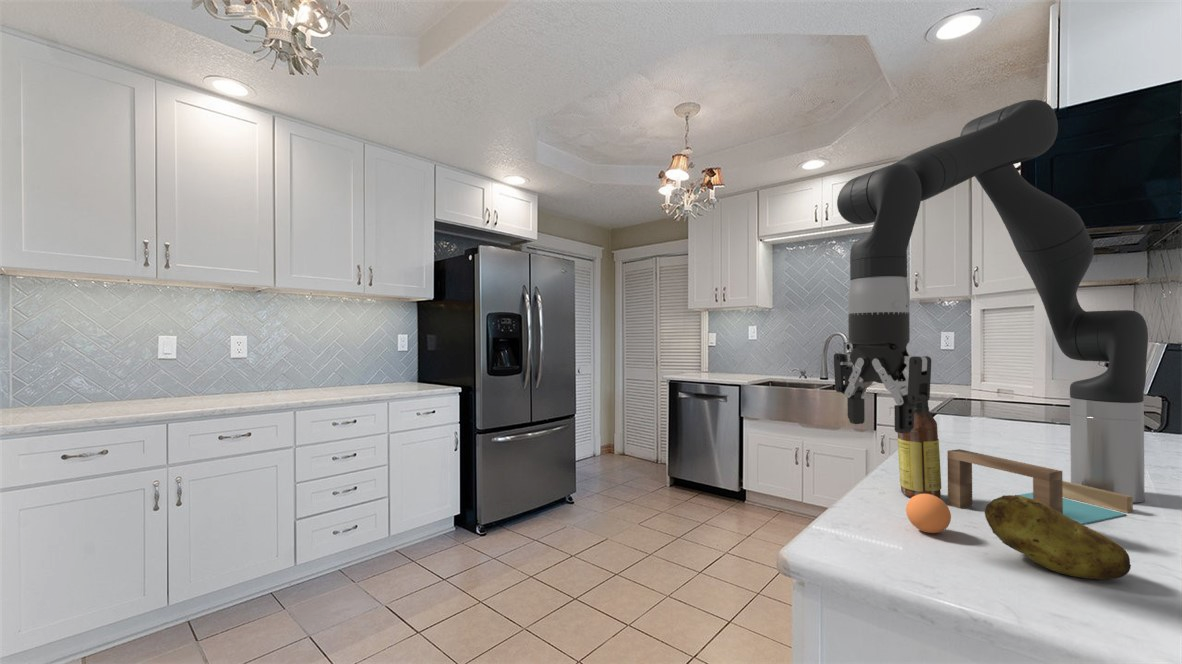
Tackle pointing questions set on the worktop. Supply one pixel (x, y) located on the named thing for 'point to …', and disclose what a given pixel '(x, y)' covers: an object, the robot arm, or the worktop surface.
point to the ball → (928, 513)
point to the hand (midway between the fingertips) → (878, 427)
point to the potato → (1055, 539)
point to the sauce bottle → (920, 455)
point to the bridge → (1044, 479)
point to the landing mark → (1083, 511)
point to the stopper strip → (1098, 497)
